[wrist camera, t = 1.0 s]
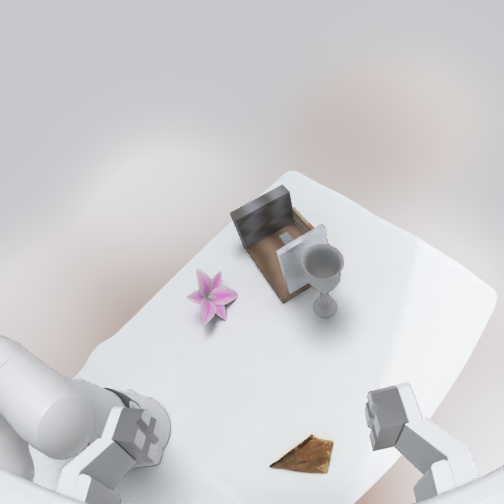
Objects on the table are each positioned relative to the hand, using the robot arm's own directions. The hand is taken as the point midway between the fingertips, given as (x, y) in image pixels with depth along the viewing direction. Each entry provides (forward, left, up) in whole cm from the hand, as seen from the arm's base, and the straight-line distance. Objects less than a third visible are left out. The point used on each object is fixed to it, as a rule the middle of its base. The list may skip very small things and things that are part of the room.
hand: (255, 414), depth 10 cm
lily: (-3, +36, -51) cm, 62 cm away
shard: (-3, -4, -51) cm, 51 cm away
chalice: (+17, +22, -51) cm, 58 cm away
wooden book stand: (+17, +38, -50) cm, 65 cm away
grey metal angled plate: (+17, +33, -48) cm, 61 cm away
